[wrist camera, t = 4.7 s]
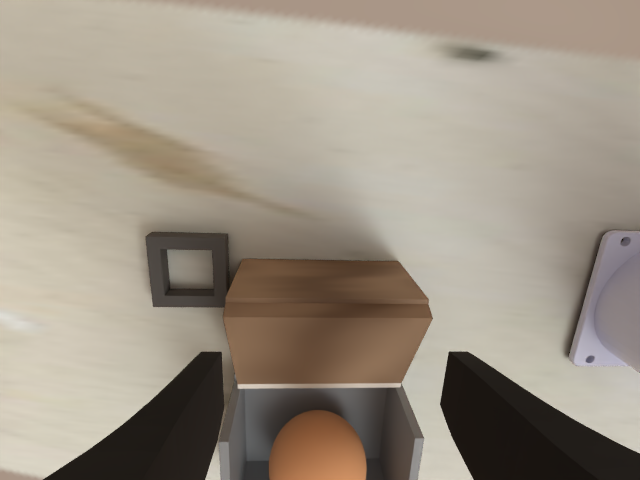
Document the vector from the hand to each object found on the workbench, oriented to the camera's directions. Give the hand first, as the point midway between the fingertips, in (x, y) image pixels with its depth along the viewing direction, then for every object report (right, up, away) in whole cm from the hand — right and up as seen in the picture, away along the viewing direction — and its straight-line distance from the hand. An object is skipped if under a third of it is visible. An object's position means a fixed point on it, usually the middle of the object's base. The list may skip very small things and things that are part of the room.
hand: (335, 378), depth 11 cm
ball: (-1, -7, +7) cm, 10 cm away
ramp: (-1, 0, +8) cm, 8 cm away
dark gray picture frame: (-7, +3, +7) cm, 10 cm away
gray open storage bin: (-1, -6, +10) cm, 11 cm away
